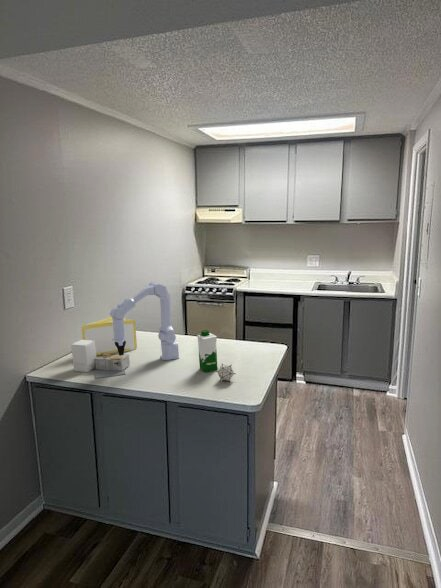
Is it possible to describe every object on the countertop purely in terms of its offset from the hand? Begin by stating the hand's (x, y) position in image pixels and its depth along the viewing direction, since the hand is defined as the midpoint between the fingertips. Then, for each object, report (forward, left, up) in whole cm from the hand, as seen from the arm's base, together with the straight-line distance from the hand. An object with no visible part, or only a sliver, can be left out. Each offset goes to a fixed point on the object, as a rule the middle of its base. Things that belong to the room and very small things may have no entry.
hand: (121, 355), depth 219 cm
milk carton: (-43, +16, -9) cm, 47 cm away
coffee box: (-2, -1, -5) cm, 5 cm away
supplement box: (+19, -10, -9) cm, 23 cm away
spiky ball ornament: (-47, +34, -9) cm, 59 cm away
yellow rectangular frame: (+2, -36, -9) cm, 37 cm away
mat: (+6, 0, -8) cm, 11 cm away
